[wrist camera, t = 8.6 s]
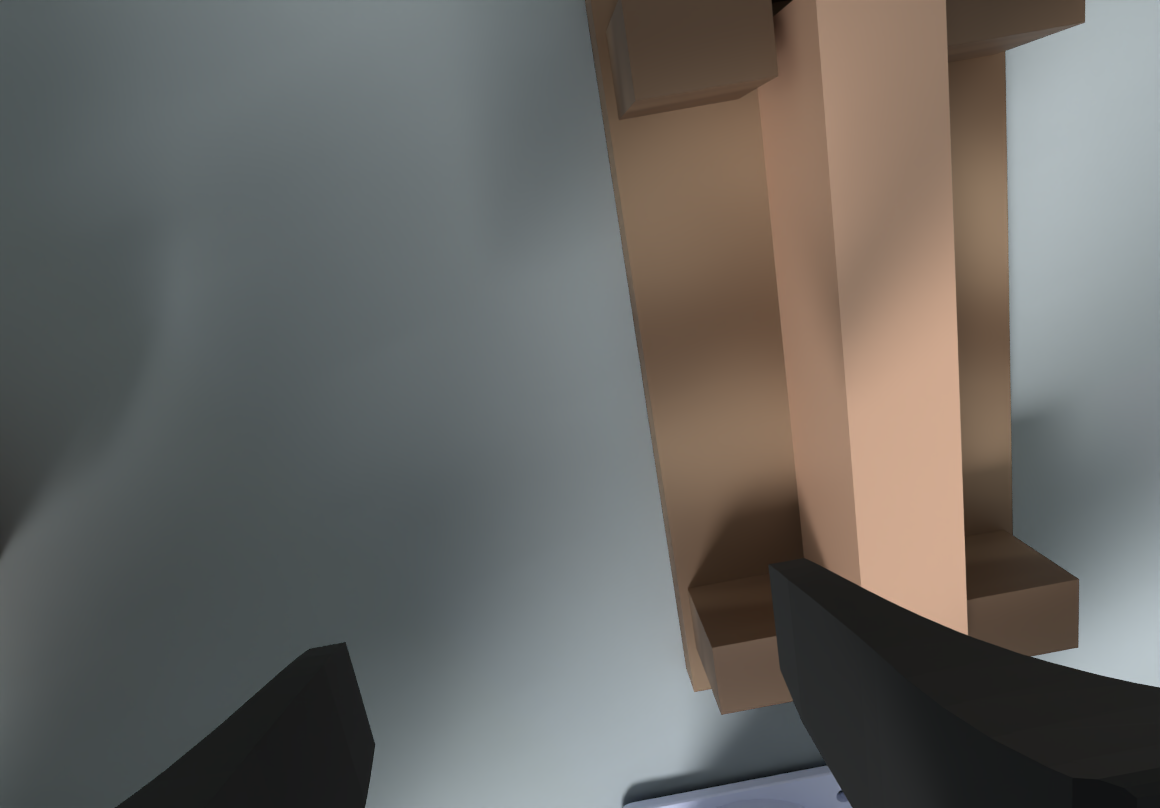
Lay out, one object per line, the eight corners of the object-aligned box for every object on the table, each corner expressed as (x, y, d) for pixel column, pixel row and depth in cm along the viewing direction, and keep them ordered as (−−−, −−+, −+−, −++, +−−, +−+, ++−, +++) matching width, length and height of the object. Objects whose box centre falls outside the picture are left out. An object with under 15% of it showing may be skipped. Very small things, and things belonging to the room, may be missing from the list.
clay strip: (891, 599, 22) (969, 683, 18) (809, 614, 21) (870, 702, 18) (853, 16, 17) (944, -41, 14) (752, 34, 17) (814, -19, 14)
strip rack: (990, 611, 23) (1086, 694, 19) (686, 668, 23) (718, 764, 19) (972, -87, 18) (1099, -175, 14) (582, -20, 18) (595, -90, 14)
